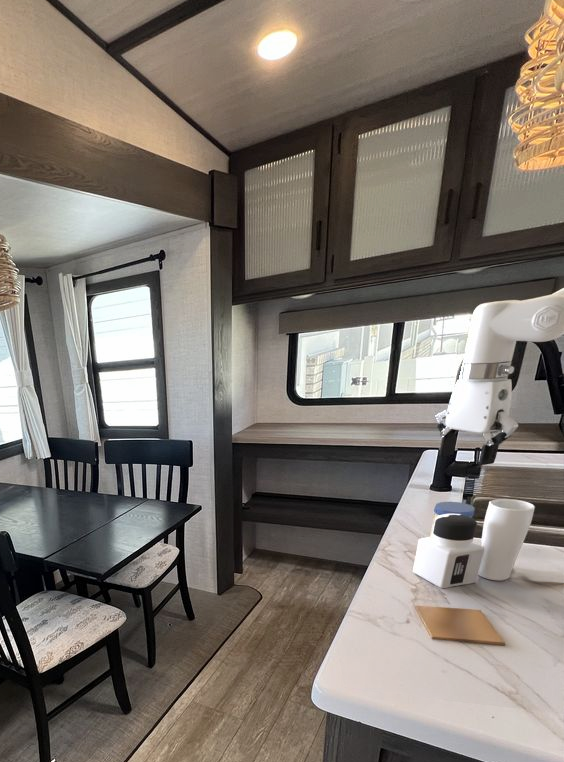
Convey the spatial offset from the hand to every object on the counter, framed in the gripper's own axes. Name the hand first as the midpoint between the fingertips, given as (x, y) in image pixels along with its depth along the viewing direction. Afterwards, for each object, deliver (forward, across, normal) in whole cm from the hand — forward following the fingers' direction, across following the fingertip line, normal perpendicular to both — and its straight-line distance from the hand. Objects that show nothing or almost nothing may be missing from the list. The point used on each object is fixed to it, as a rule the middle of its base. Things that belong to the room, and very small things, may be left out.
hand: (465, 459), depth 98 cm
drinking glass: (+20, -14, +4) cm, 25 cm away
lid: (+11, 0, 0) cm, 11 cm away
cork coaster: (+20, -25, +24) cm, 40 cm away
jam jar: (+20, 0, 0) cm, 20 cm away
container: (+20, -11, +12) cm, 26 cm away
